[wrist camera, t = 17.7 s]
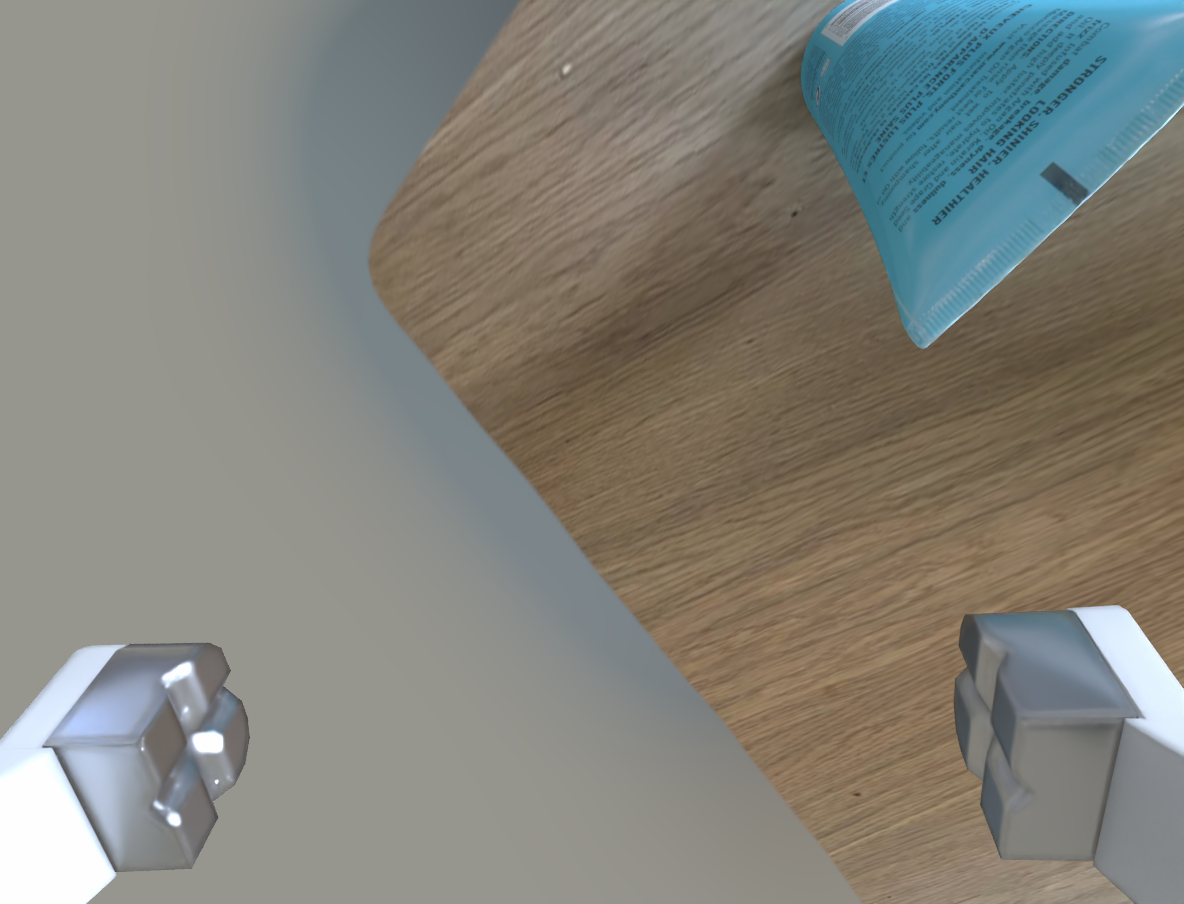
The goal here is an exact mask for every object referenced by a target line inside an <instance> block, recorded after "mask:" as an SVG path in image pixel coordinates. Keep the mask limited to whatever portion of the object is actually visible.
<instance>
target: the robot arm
mask: <svg viewBox="0 0 1184 904" xmlns="http://www.w3.org/2000/svg"><path fill="white" fill-rule="evenodd" d="M959 647H960V650H961V652H962V655H963V657H964V660H965V662H966V664H967V667H966V668H965V669H964V670H963V671H962V672H961V673H960V674H959V675H958V676H957V677H956V678H955V690H954V714H955V725H956V732H957V736H958V741H959V745H960V749H961V752H962V755H963V758H964V761H965V764H966V766H967V769H968V770H969V771H971V772H972V773H973V774H975V775H976V776H977V777H978V778H980V779H981V780H982V781H983V785H982V794H981V803H980V805H981V807H982V810H983V813H984V815H985V818H986V821H987V823H988V826H989V829H990V831H991V834H992V836H993V839H994V842H995V844H996V847H997V850H998V852H999V855H1000V858H1001V860H1054V861H1094V864H1093V866H1094V867H1096V868H1097V869H1098V870H1099V871H1100V872H1101V873H1102V874H1103V875H1104V876H1105V877H1106V878H1108V879H1109V880H1110V881H1111V882H1112V883H1113V884H1114V885H1115V886H1116V887H1117V888H1118V889H1120V890H1121V891H1122V892H1123V893H1124V894H1125V895H1126V896H1127V897H1128V898H1129V899H1131V900H1132V901H1133V902H1134V903H1135V904H1184V689H1183V688H1182V686H1181V685H1180V684H1179V682H1178V681H1177V679H1176V678H1175V677H1174V675H1173V674H1172V672H1171V671H1170V670H1169V668H1168V667H1167V665H1166V664H1165V663H1164V661H1163V660H1162V658H1161V657H1160V656H1159V654H1158V653H1157V651H1156V650H1155V648H1154V647H1153V646H1152V644H1151V643H1150V641H1149V640H1148V639H1147V637H1146V636H1145V634H1144V633H1143V632H1142V630H1141V629H1140V627H1139V626H1138V625H1137V623H1136V622H1135V620H1134V619H1133V618H1132V616H1131V615H1130V613H1129V612H1128V611H1127V610H1126V609H1124V608H1122V607H1120V606H1119V605H1112V606H1096V607H1080V608H1067V609H1066V610H1050V611H1027V612H1004V613H982V614H965V616H964V619H963V621H962V624H961V629H960V638H959ZM230 671H231V670H230V668H229V666H228V663H227V661H226V659H225V656H224V654H223V651H222V649H221V648H220V647H218V646H215V645H213V644H211V643H175V644H130V645H94V646H87V647H85V648H82V649H80V650H77V651H75V652H74V653H73V654H72V656H71V657H70V658H69V659H68V660H67V662H66V663H65V664H64V665H63V666H62V667H61V669H60V670H59V671H58V672H57V673H56V675H55V676H54V677H53V678H52V679H51V681H50V682H49V683H48V684H47V685H46V687H45V688H44V689H43V690H42V691H41V692H40V693H39V695H38V696H37V697H36V698H35V699H34V701H33V702H32V703H31V704H30V705H29V707H28V708H27V709H26V710H25V711H24V712H23V714H22V715H21V716H20V717H19V718H18V720H17V721H16V722H15V723H14V724H13V725H12V727H11V728H10V729H9V730H8V731H7V733H6V734H5V735H4V736H3V737H2V738H1V740H0V904H86V903H87V902H88V901H89V900H90V899H92V898H93V897H94V896H95V895H96V894H97V893H98V892H99V891H100V890H101V889H103V888H104V887H105V886H106V885H107V884H108V883H109V882H110V881H111V880H113V879H114V878H115V877H116V873H115V872H125V871H150V870H174V869H192V867H193V865H194V863H195V861H196V859H197V857H198V856H199V854H200V852H201V850H202V848H203V846H204V844H205V842H206V840H207V838H208V836H209V834H210V832H211V830H212V828H213V826H214V825H215V822H216V821H217V819H218V815H217V812H216V809H215V806H214V802H213V801H214V800H216V799H217V798H218V797H220V796H221V795H222V794H224V793H225V792H226V791H227V790H229V789H230V788H231V787H233V786H234V785H235V783H236V782H237V779H238V777H239V775H240V773H241V771H242V769H243V767H244V765H245V761H246V756H247V750H248V744H249V739H250V737H249V727H248V718H247V715H246V712H245V709H244V706H243V703H242V701H241V700H240V699H238V698H237V697H236V696H235V695H233V694H232V693H231V692H230V691H229V690H227V689H226V688H225V687H224V686H223V685H224V683H225V681H226V679H227V677H228V675H229V673H230Z"/></svg>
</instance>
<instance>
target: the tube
mask: <svg viewBox="0 0 1184 904" xmlns="http://www.w3.org/2000/svg"><path fill="white" fill-rule="evenodd" d="M801 87H802V93H803V97H804V100H805V103H806V105H807V107H808V109H809V111H810V113H811V115H812V116H813V118H814V120H815V121H816V123H817V125H818V126H819V128H820V130H821V131H822V133H823V135H824V137H825V138H826V140H827V142H828V143H829V145H830V147H831V149H832V151H833V152H834V154H835V156H836V158H837V160H838V162H839V164H840V166H841V167H842V169H843V171H844V173H845V175H846V177H847V179H848V181H849V183H850V185H851V187H852V189H853V192H854V194H855V196H856V198H857V200H858V202H859V204H860V206H861V209H862V211H863V213H864V216H865V218H866V220H867V223H868V225H869V227H870V230H871V232H872V235H873V237H874V240H875V242H876V245H877V247H878V250H879V253H880V255H881V258H882V261H883V263H884V266H885V269H886V272H887V275H888V278H889V281H890V284H891V287H892V290H893V294H894V297H895V300H896V304H897V307H898V311H899V314H900V318H901V321H902V324H903V327H904V328H905V330H906V332H907V333H908V335H909V337H910V339H911V340H912V341H913V342H914V344H915V345H916V346H917V347H918V348H920V349H924V348H926V347H928V346H929V345H930V344H931V343H932V342H934V341H935V340H936V339H937V338H938V337H939V336H940V335H941V334H942V333H943V332H944V331H946V330H947V329H948V328H949V327H950V326H951V325H952V324H953V323H954V322H956V321H957V320H958V319H959V318H960V317H961V316H962V315H964V314H965V313H966V312H967V311H968V310H969V309H970V308H972V307H973V306H974V305H975V304H976V303H977V302H978V301H979V300H980V299H981V298H982V297H983V296H985V295H986V294H987V293H988V292H989V291H990V290H991V289H992V288H993V287H994V286H995V285H997V284H998V283H999V282H1000V281H1001V280H1002V279H1004V278H1005V277H1006V276H1007V275H1008V274H1009V273H1010V272H1011V271H1012V270H1013V269H1014V268H1015V267H1016V266H1017V265H1018V264H1019V263H1020V262H1021V261H1022V260H1024V259H1025V258H1026V257H1027V256H1028V255H1029V254H1030V253H1031V252H1032V251H1033V250H1034V249H1035V248H1036V247H1037V246H1038V245H1039V244H1040V243H1041V242H1042V241H1044V240H1045V239H1046V238H1047V237H1048V236H1049V235H1050V234H1051V233H1052V232H1053V231H1054V230H1055V229H1056V228H1057V227H1058V226H1060V225H1061V224H1062V223H1063V222H1064V221H1065V220H1066V219H1067V218H1068V217H1069V216H1070V215H1071V214H1072V213H1073V212H1074V211H1075V210H1076V209H1077V208H1078V207H1079V206H1080V205H1081V204H1082V203H1084V202H1085V201H1086V200H1087V199H1088V198H1089V197H1091V196H1092V195H1093V194H1094V193H1095V192H1096V191H1097V190H1098V189H1099V188H1100V187H1101V186H1102V185H1103V184H1104V183H1105V182H1106V181H1108V180H1109V179H1110V178H1111V177H1112V176H1113V175H1114V174H1115V173H1116V172H1117V171H1118V170H1119V169H1120V168H1121V167H1122V166H1123V165H1124V164H1125V163H1126V162H1127V161H1128V160H1129V159H1130V158H1132V157H1133V156H1134V155H1135V154H1136V153H1137V151H1138V150H1139V149H1140V148H1141V147H1142V146H1143V145H1144V144H1145V143H1146V142H1148V141H1149V140H1150V139H1151V138H1152V137H1153V136H1154V135H1155V134H1156V133H1157V132H1158V131H1159V130H1160V129H1161V128H1163V127H1164V126H1165V125H1166V124H1167V123H1168V122H1169V121H1170V119H1171V118H1172V117H1173V116H1174V115H1175V114H1176V113H1177V112H1178V111H1179V109H1180V108H1181V107H1182V106H1183V105H1184V0H847V1H845V2H843V3H842V4H840V5H838V6H837V7H836V8H834V9H833V10H832V11H831V12H830V13H829V14H828V15H827V16H826V17H825V18H824V19H823V20H822V21H821V22H820V23H819V25H818V26H817V28H816V29H815V31H814V32H813V34H812V36H811V38H810V40H809V42H808V44H807V47H806V49H805V52H804V57H803V61H802V66H801Z"/></svg>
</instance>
